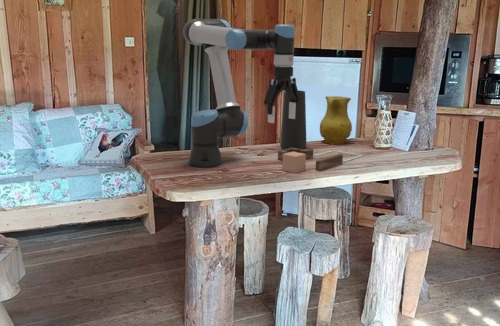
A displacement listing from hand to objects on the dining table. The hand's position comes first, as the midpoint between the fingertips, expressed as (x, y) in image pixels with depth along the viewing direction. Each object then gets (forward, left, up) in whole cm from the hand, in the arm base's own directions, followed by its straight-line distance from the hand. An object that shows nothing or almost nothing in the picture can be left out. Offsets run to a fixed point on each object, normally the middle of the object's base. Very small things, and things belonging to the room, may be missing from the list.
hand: (281, 120), depth 193 cm
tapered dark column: (-30, +47, -23) cm, 60 cm away
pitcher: (-22, +75, -23) cm, 82 cm away
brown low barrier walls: (-6, +26, -23) cm, 35 cm away
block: (-2, +11, -23) cm, 26 cm away
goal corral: (-2, +46, -23) cm, 52 cm away
